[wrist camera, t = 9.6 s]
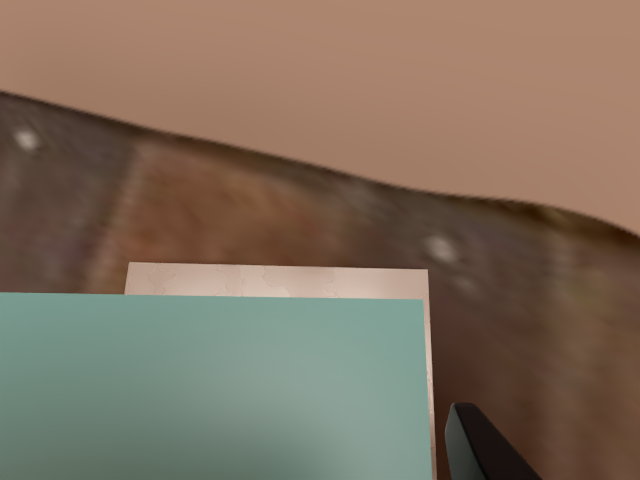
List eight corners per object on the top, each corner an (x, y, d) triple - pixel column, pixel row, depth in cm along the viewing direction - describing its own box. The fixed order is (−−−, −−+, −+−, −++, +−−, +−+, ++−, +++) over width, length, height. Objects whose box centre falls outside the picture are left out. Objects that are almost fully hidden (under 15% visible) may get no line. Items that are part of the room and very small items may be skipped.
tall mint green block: (351, 523, 14) (467, 1164, 3) (176, 520, 15) (-384, 1134, 3) (350, 343, 16) (423, 298, 5) (194, 340, 16) (-125, 290, 5)
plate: (435, 617, 15) (469, 694, 11) (90, 605, 15) (21, 677, 11) (421, 274, 18) (445, 254, 14) (139, 267, 18) (97, 246, 15)
